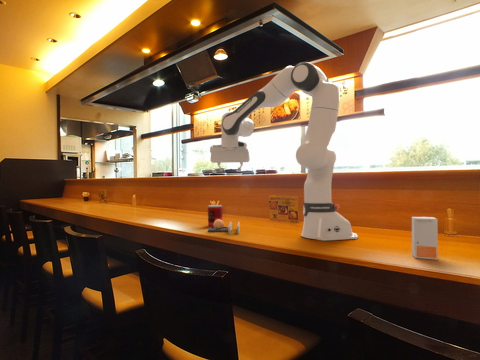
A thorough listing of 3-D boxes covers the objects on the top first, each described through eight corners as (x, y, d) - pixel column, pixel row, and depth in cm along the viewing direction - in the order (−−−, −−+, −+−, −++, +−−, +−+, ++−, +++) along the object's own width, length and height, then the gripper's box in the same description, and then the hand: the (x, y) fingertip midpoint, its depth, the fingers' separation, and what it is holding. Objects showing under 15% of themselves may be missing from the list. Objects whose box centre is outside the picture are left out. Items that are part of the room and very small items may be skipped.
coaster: (228, 228, 147) (228, 226, 147) (226, 231, 138) (226, 229, 138) (210, 229, 147) (210, 227, 147) (207, 232, 138) (207, 230, 138)
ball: (223, 230, 140) (223, 220, 140) (212, 230, 140) (212, 219, 140) (223, 228, 145) (224, 218, 145) (213, 228, 145) (214, 218, 145)
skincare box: (414, 258, 86) (413, 218, 86) (411, 255, 90) (411, 216, 90) (438, 260, 84) (437, 218, 84) (434, 256, 88) (434, 216, 88)
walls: (239, 228, 147) (239, 221, 147) (238, 234, 131) (238, 226, 131) (230, 228, 148) (230, 221, 148) (228, 234, 132) (228, 226, 132)
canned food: (223, 224, 161) (223, 204, 161) (221, 227, 153) (220, 206, 153) (209, 224, 162) (209, 204, 162) (206, 227, 154) (206, 206, 154)
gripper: (209, 144, 149) (209, 171, 149) (249, 143, 148) (249, 170, 148) (210, 145, 155) (211, 171, 155) (249, 144, 155) (249, 171, 155)
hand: (230, 171), depth 152 cm, fingers open, 8 cm apart
